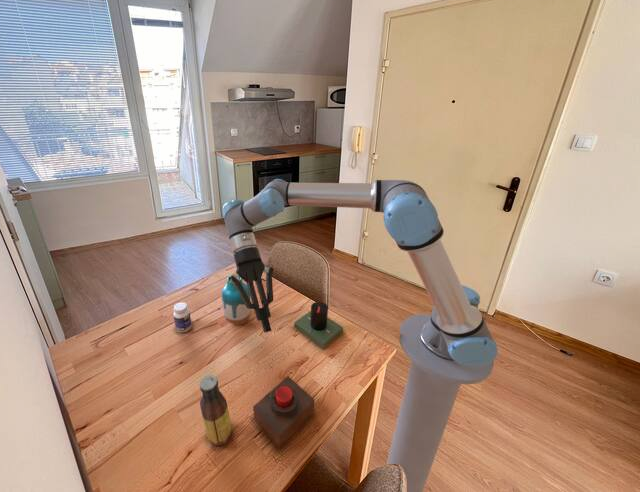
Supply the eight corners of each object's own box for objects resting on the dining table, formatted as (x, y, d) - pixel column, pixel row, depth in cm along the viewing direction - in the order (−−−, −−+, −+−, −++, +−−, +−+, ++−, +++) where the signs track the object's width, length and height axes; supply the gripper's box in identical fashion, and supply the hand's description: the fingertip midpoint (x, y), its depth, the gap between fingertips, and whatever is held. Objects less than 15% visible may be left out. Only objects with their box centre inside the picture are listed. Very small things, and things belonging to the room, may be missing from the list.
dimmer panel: (342, 332, 107) (343, 327, 106) (323, 349, 100) (323, 343, 99) (313, 313, 116) (313, 308, 115) (294, 327, 109) (294, 321, 108)
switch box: (287, 388, 87) (287, 370, 84) (313, 412, 80) (314, 394, 77) (253, 419, 79) (252, 401, 76) (279, 449, 72) (279, 430, 69)
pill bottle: (189, 333, 107) (185, 311, 103) (173, 333, 108) (169, 311, 103) (193, 321, 113) (190, 301, 109) (179, 321, 113) (175, 301, 109)
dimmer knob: (311, 317, 111) (312, 299, 107) (327, 320, 109) (329, 302, 106) (308, 328, 105) (309, 310, 102) (325, 332, 104) (326, 313, 100)
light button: (284, 388, 80) (284, 382, 79) (295, 399, 77) (295, 393, 76) (272, 398, 77) (272, 393, 76) (283, 410, 74) (283, 405, 73)
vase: (256, 313, 117) (253, 273, 109) (244, 332, 107) (241, 289, 100) (232, 307, 120) (228, 268, 112) (219, 325, 111) (213, 283, 103)
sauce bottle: (232, 420, 79) (225, 368, 71) (231, 445, 73) (224, 392, 65) (207, 423, 78) (198, 371, 70) (204, 449, 72) (194, 395, 64)
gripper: (225, 251, 81) (247, 339, 74) (269, 242, 86) (293, 323, 79) (222, 258, 88) (242, 339, 80) (263, 249, 92) (285, 325, 85)
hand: (267, 331), depth 80 cm, fingers closed
